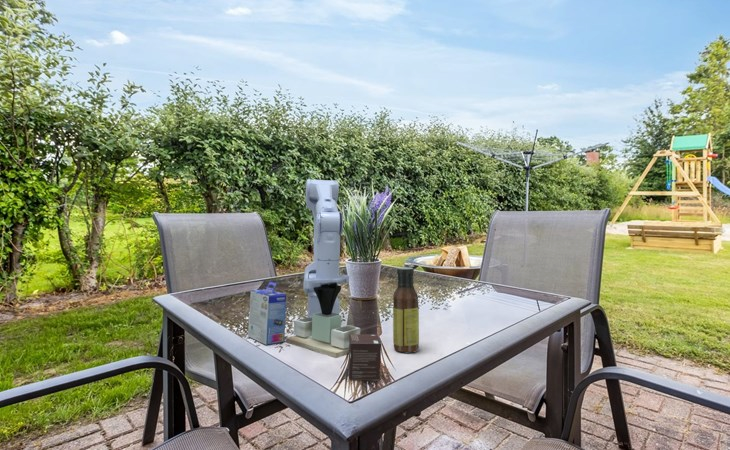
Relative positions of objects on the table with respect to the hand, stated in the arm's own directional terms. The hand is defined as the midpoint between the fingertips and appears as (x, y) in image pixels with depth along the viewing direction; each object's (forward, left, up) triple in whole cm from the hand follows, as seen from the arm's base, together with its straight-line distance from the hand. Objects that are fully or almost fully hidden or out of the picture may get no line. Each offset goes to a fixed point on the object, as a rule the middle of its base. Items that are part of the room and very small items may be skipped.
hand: (326, 314), depth 95 cm
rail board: (0, 0, -7) cm, 7 cm away
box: (+9, +19, -8) cm, 22 cm away
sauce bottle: (-10, +17, -8) cm, 21 cm away
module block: (0, 0, -6) cm, 6 cm away
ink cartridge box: (+7, -14, -8) cm, 17 cm away
